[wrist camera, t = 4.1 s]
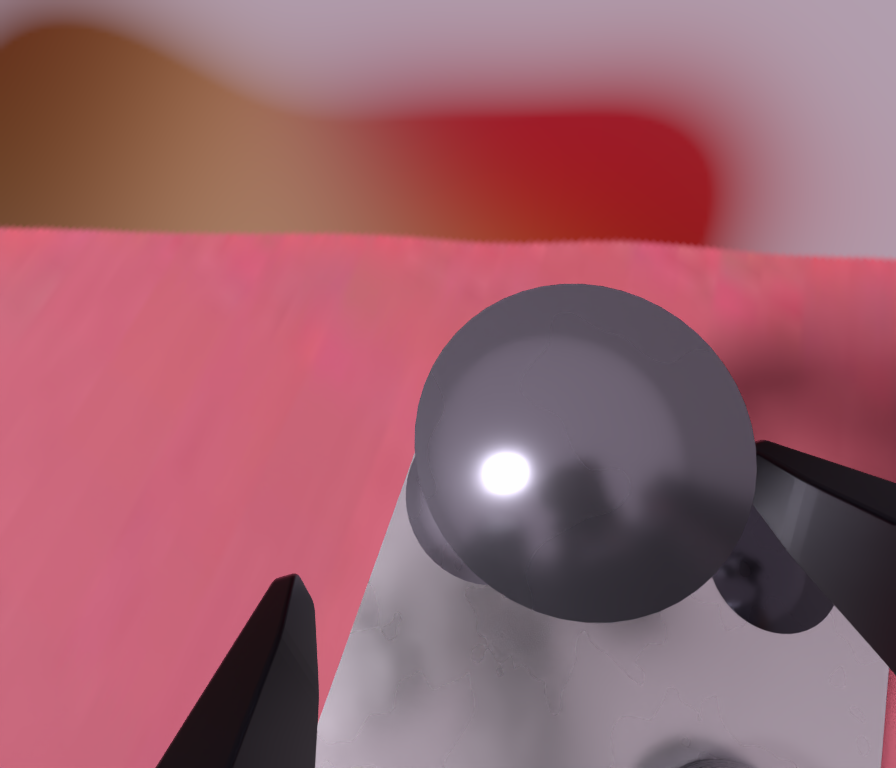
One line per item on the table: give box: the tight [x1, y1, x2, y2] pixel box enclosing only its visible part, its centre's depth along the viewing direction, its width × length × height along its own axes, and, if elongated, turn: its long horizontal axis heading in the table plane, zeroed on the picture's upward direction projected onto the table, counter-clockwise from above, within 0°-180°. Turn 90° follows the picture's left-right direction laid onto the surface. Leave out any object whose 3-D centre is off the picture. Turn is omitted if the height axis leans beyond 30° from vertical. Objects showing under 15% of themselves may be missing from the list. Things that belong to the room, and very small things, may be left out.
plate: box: [315, 454, 889, 768], centre depth 16 cm, size 14×17×1 cm
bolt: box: [406, 284, 757, 623], centre depth 11 cm, size 6×6×13 cm
